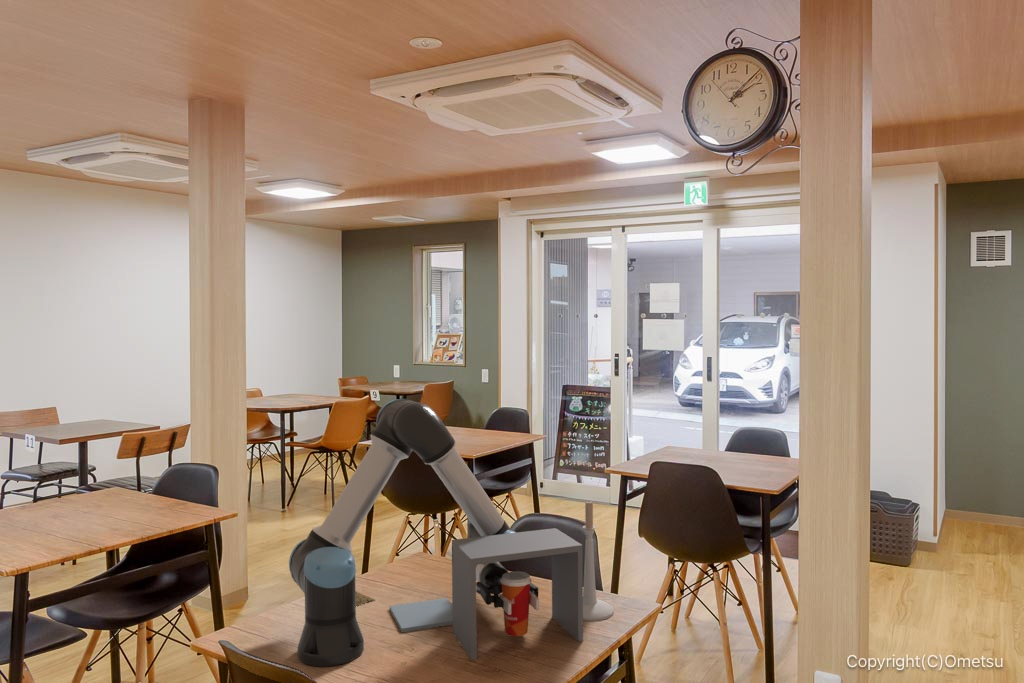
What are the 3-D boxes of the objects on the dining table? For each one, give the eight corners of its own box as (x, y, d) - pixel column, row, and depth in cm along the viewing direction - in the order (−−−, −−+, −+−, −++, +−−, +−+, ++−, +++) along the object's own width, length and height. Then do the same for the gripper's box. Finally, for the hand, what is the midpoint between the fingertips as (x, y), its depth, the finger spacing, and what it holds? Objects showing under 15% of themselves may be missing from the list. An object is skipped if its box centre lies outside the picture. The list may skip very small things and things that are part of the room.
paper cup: (497, 627, 183) (496, 572, 183) (526, 623, 186) (525, 568, 185) (506, 640, 176) (505, 582, 176) (536, 636, 178) (535, 579, 178)
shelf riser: (471, 660, 168) (470, 558, 168) (452, 633, 183) (451, 539, 183) (582, 640, 178) (582, 545, 178) (556, 616, 193) (555, 528, 193)
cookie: (377, 601, 206) (377, 598, 206) (340, 613, 197) (340, 610, 197) (352, 591, 214) (352, 587, 214) (316, 602, 206) (316, 599, 206)
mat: (401, 632, 184) (401, 628, 184) (389, 609, 199) (389, 605, 199) (463, 623, 190) (462, 619, 190) (446, 601, 205) (446, 597, 205)
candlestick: (621, 608, 199) (621, 498, 198) (600, 624, 188) (599, 508, 187) (579, 599, 206) (579, 492, 205) (557, 614, 195) (556, 502, 194)
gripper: (526, 585, 201) (560, 616, 179) (458, 594, 194) (485, 628, 173) (526, 558, 201) (560, 586, 179) (457, 566, 194) (485, 596, 172)
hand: (523, 606), depth 176 cm, fingers closed on paper cup, 6 cm apart
